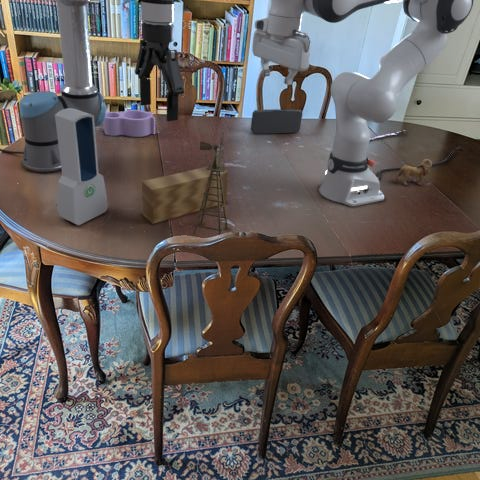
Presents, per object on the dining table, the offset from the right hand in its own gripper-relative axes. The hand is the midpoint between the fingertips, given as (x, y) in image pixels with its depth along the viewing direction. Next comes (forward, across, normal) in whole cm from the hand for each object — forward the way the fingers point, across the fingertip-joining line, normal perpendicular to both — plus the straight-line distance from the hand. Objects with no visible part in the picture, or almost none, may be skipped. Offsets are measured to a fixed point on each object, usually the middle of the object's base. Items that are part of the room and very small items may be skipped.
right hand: (276, 79), depth 132 cm
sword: (+38, +18, -91) cm, 101 cm away
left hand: (+7, +6, +35) cm, 36 cm away
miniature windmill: (+38, -9, +27) cm, 48 cm away
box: (+38, +6, +25) cm, 46 cm away
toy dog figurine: (+38, -17, -59) cm, 72 cm away
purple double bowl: (+38, +71, +11) cm, 82 cm away
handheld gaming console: (+38, +45, -46) cm, 75 cm away
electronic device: (+38, +17, +53) cm, 67 cm away
